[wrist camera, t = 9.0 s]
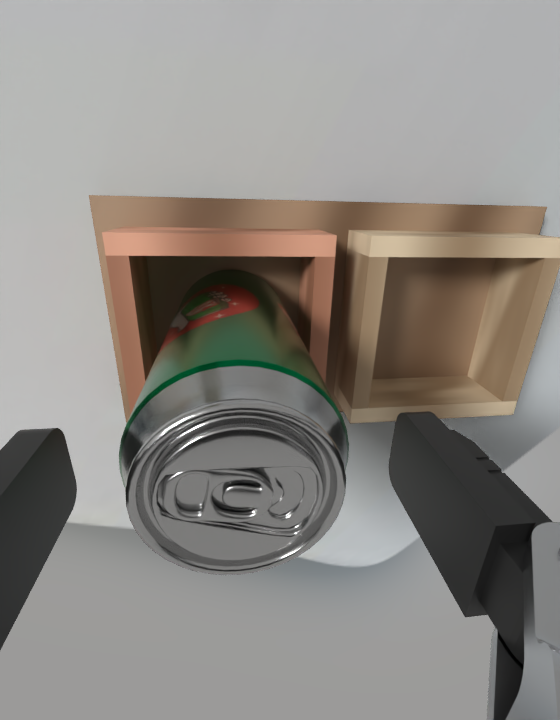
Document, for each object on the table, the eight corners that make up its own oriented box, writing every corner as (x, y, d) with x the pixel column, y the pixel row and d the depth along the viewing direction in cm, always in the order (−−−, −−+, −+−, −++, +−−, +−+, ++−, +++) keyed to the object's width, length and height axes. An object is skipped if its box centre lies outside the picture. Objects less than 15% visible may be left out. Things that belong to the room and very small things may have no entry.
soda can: (272, 372, 20) (330, 590, 9) (174, 359, 19) (100, 587, 8) (293, 277, 18) (398, 402, 7) (184, 257, 17) (106, 367, 6)
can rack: (531, 206, 19) (604, 208, 15) (480, 396, 23) (527, 433, 20) (96, 195, 16) (58, 194, 13) (130, 412, 21) (109, 458, 17)
